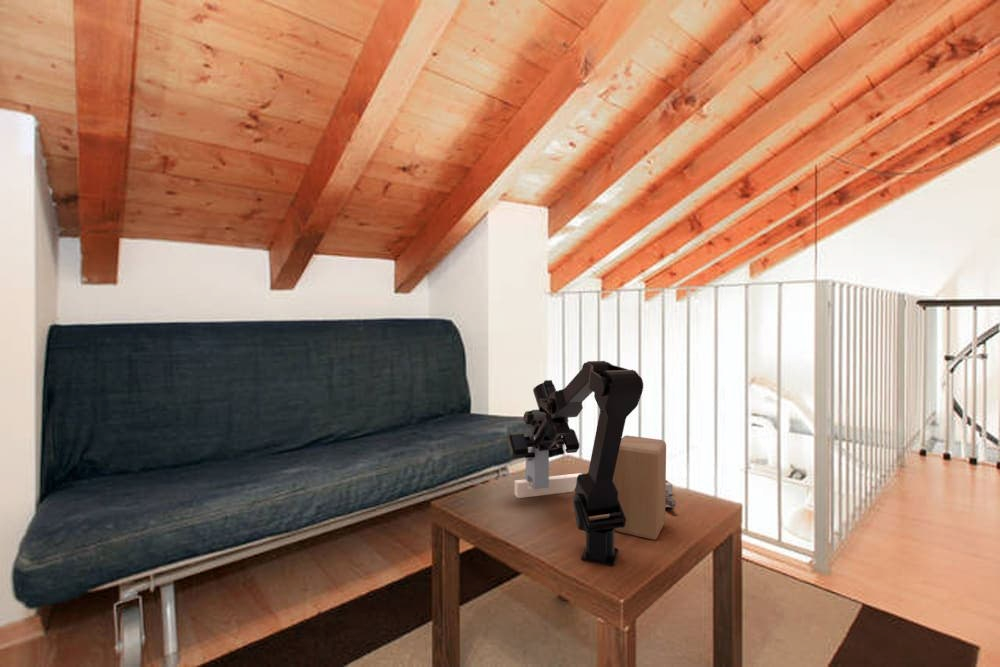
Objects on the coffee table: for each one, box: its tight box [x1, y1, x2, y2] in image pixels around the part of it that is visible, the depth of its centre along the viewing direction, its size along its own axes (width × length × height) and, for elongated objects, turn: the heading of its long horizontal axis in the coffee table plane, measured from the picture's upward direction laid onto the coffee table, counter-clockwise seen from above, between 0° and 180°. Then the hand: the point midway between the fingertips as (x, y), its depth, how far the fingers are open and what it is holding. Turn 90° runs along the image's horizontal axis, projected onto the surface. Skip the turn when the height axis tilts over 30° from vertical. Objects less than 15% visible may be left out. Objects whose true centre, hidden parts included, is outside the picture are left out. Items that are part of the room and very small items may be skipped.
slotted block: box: [525, 449, 550, 489], centre depth 125 cm, size 7×4×10 cm, turn 17°
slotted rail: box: [514, 472, 583, 499], centre depth 127 cm, size 2×20×4 cm, turn 107°
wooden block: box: [613, 434, 667, 540], centre depth 105 cm, size 10×10×20 cm
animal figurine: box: [665, 492, 677, 509], centre depth 118 cm, size 12×4×5 cm, turn 4°
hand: (535, 458), depth 127 cm, fingers closed on slotted block, 4 cm apart
